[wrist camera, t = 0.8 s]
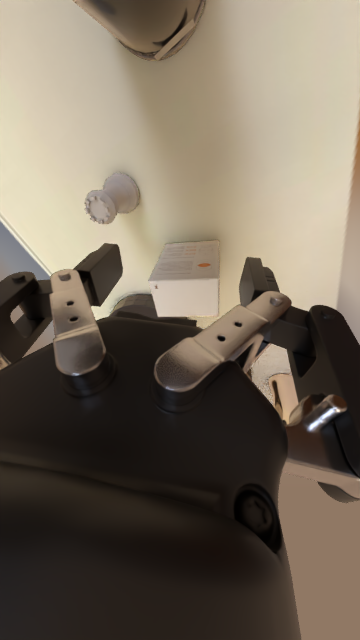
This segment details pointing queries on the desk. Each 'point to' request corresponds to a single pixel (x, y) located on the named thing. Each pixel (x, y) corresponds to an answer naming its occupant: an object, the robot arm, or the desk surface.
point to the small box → (187, 280)
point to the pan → (139, 306)
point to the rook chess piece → (112, 199)
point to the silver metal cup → (283, 395)
